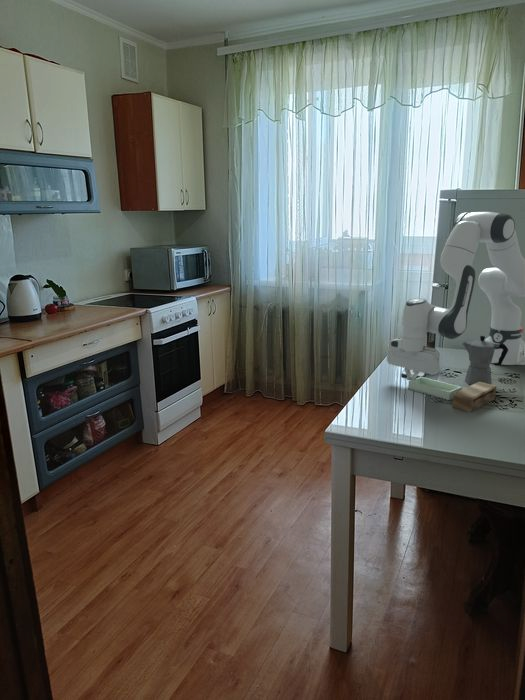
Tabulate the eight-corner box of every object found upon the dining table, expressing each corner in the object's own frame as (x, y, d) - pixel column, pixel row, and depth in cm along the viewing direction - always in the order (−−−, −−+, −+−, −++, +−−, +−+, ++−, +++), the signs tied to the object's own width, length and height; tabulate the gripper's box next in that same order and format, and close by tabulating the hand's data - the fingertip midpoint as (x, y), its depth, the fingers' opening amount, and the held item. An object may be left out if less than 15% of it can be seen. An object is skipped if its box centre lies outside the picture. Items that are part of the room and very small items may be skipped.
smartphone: (407, 367, 212) (400, 377, 198) (408, 363, 212) (400, 373, 198) (430, 369, 208) (423, 380, 195) (430, 366, 208) (424, 376, 194)
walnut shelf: (477, 394, 178) (479, 381, 177) (494, 399, 173) (496, 385, 172) (452, 407, 167) (453, 393, 166) (470, 412, 163) (471, 398, 161)
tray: (420, 384, 189) (421, 376, 189) (461, 395, 178) (461, 386, 177) (408, 389, 184) (408, 381, 184) (449, 400, 173) (449, 392, 172)
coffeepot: (458, 384, 188) (462, 337, 184) (459, 377, 196) (463, 331, 192) (504, 389, 182) (509, 340, 177) (504, 381, 190) (509, 334, 186)
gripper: (444, 347, 178) (441, 385, 182) (395, 337, 193) (393, 372, 197) (434, 351, 174) (432, 389, 178) (385, 340, 189) (383, 376, 193)
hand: (411, 380), depth 187 cm, fingers closed
